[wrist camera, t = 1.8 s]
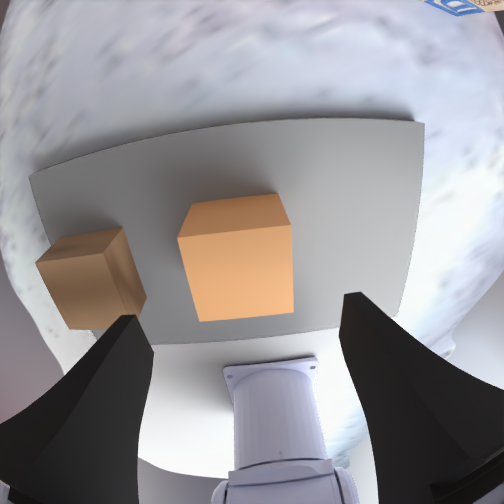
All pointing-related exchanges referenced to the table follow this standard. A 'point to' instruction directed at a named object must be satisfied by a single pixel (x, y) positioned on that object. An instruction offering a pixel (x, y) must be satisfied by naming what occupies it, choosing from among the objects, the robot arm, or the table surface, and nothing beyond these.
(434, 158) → the table surface
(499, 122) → the table surface
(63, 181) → the slate baseplate
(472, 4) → the stack of blocks
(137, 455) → the robot arm
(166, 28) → the table surface
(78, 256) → the walnut base brick
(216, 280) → the orange brick
